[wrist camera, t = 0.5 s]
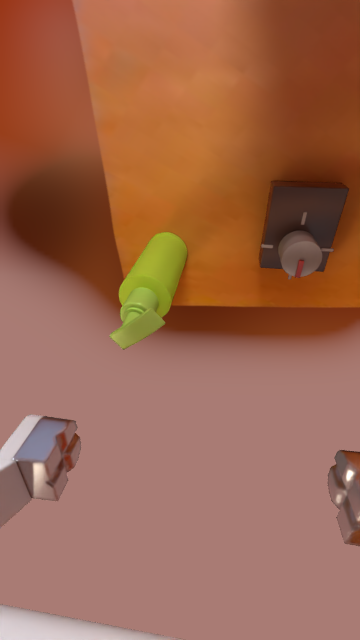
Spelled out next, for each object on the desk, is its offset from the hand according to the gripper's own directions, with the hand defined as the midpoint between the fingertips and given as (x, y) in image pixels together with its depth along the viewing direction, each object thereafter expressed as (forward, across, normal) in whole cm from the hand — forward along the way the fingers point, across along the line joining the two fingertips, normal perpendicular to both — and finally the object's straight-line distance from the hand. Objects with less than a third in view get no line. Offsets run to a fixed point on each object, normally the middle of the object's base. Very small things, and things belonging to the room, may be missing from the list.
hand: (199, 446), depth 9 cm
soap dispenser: (+36, +7, +4) cm, 37 cm away
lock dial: (+32, -10, +2) cm, 33 cm away
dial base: (+35, -10, 0) cm, 36 cm away
